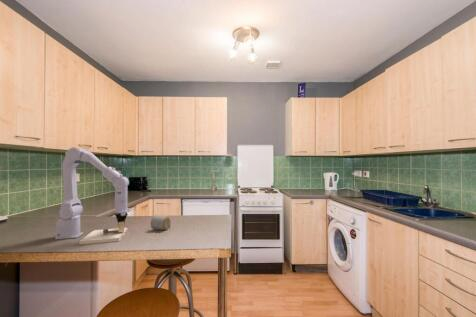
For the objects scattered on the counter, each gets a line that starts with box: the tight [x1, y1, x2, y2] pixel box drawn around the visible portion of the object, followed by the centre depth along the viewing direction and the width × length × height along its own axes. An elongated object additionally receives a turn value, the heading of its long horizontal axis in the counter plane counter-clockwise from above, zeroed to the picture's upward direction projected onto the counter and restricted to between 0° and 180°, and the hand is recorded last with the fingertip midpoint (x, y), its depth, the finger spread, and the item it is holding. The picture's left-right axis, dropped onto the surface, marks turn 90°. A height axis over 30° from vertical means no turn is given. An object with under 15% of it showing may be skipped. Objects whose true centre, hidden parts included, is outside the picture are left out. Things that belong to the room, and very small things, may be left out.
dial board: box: [79, 227, 128, 245], centre depth 115 cm, size 16×18×2 cm
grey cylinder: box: [150, 214, 171, 231], centre depth 129 cm, size 11×8×8 cm
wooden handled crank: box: [102, 221, 125, 234], centre depth 116 cm, size 9×2×5 cm, turn 104°
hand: (121, 227), depth 119 cm, fingers closed
